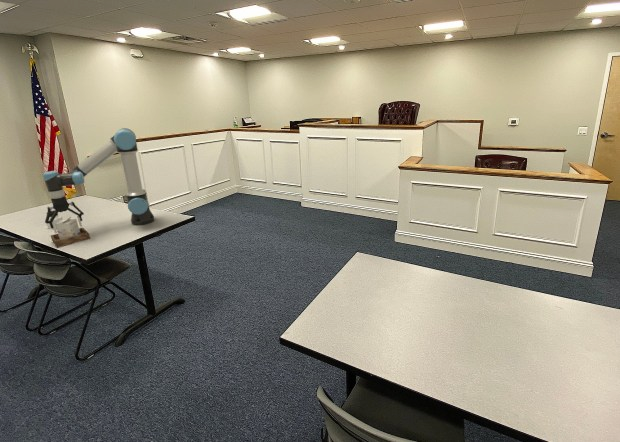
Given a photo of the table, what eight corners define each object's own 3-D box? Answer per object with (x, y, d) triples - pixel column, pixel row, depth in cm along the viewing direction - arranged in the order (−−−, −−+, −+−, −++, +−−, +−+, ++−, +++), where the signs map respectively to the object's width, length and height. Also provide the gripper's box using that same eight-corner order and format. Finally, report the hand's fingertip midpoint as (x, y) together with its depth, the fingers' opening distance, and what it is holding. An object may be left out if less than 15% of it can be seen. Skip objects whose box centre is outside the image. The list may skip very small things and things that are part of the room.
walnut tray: (84, 232, 231) (83, 227, 230) (90, 238, 221) (88, 232, 220) (52, 241, 220) (50, 235, 219) (56, 247, 210) (54, 241, 208)
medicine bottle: (65, 225, 247) (60, 209, 243) (55, 229, 240) (50, 213, 236) (58, 225, 249) (52, 209, 245) (48, 228, 243) (42, 212, 239)
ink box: (68, 236, 224) (61, 216, 219) (81, 235, 224) (75, 215, 220) (60, 241, 216) (53, 221, 211) (74, 240, 216) (68, 220, 212)
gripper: (80, 191, 221) (89, 222, 229) (32, 201, 205) (43, 234, 213) (82, 193, 216) (92, 224, 223) (33, 203, 200) (46, 237, 208)
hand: (68, 229), depth 218 cm, fingers open, 13 cm apart
